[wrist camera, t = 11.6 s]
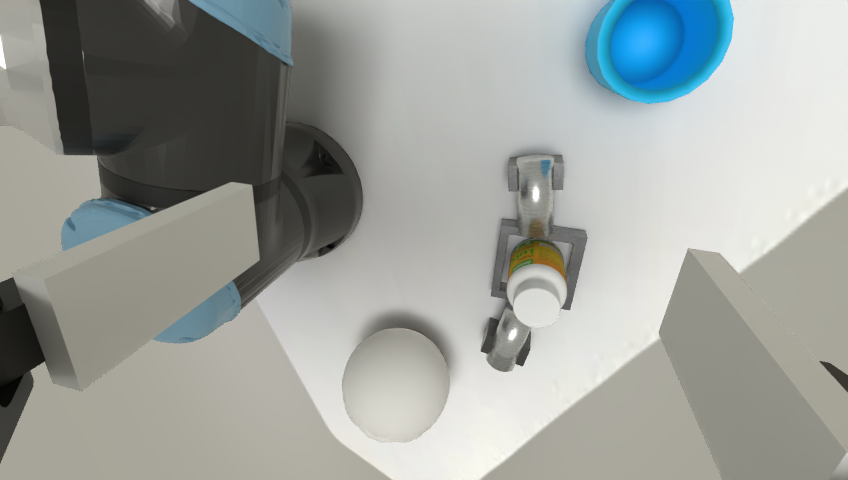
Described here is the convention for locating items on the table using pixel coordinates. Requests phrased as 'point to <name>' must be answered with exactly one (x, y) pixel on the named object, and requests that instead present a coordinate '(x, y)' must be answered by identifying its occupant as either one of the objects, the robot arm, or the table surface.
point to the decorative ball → (395, 385)
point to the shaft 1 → (506, 341)
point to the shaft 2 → (535, 191)
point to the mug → (658, 46)
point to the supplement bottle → (536, 282)
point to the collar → (559, 234)
